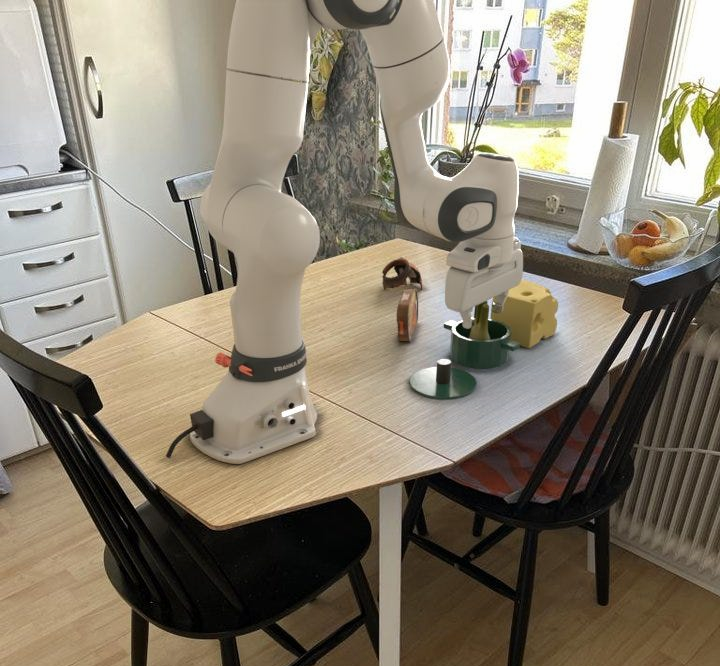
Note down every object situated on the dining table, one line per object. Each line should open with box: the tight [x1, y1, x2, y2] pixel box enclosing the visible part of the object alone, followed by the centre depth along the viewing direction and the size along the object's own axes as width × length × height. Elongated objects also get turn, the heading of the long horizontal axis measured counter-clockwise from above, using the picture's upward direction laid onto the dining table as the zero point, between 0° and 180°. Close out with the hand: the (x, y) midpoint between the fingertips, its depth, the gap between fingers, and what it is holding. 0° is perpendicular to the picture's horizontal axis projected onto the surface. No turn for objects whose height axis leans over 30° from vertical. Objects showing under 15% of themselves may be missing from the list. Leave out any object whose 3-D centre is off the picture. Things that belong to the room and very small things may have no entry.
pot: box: [443, 318, 521, 370], centre depth 142 cm, size 11×17×6 cm
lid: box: [409, 358, 477, 400], centre depth 133 cm, size 12×12×5 cm
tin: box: [396, 288, 419, 343], centre depth 152 cm, size 15×3×8 cm, turn 168°
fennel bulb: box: [469, 300, 491, 340], centre depth 140 cm, size 6×5×12 cm
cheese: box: [489, 279, 559, 349], centre depth 150 cm, size 10×11×10 cm
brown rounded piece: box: [381, 257, 424, 291], centre depth 176 cm, size 12×10×8 cm
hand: (483, 319), depth 139 cm, fingers open, 8 cm apart
